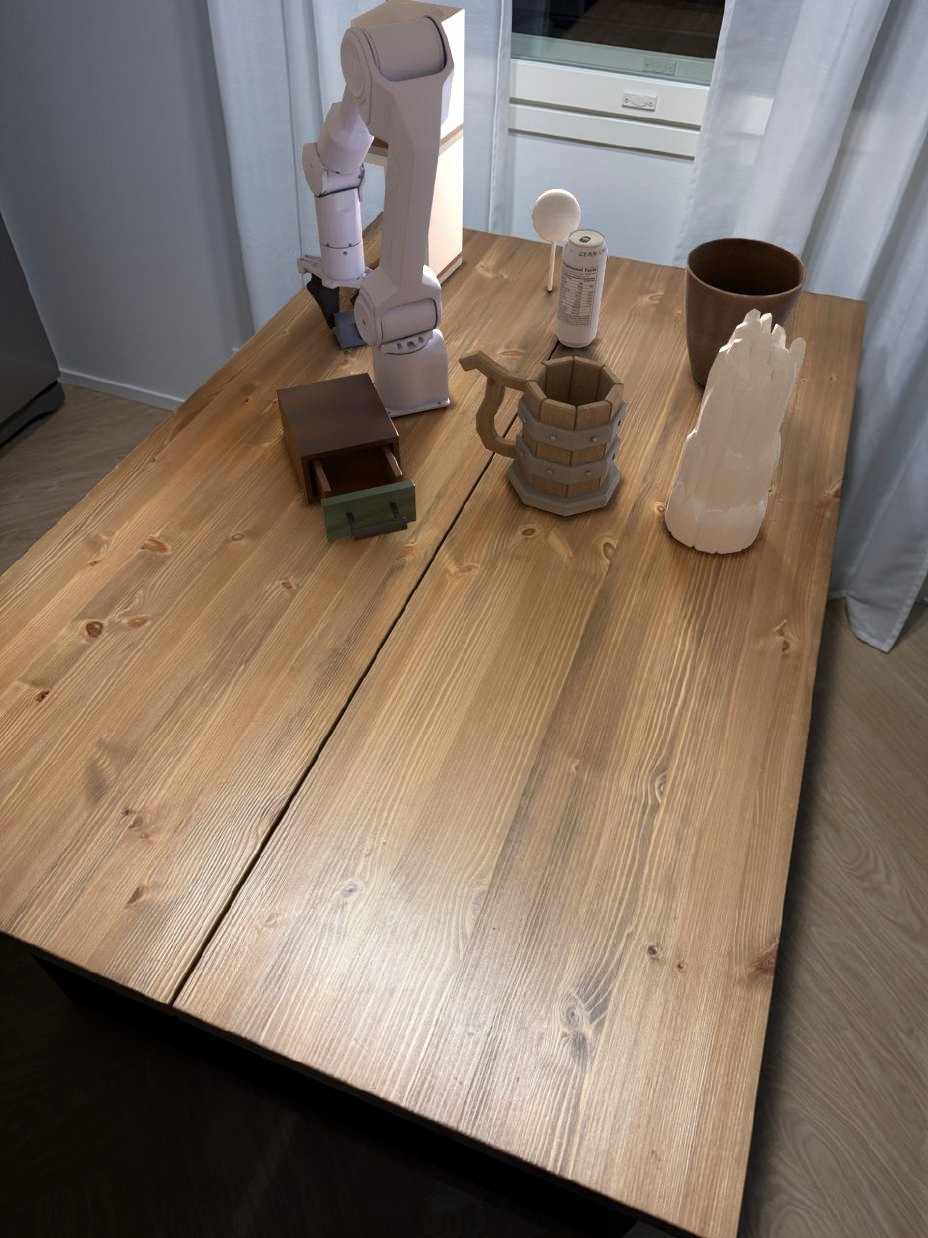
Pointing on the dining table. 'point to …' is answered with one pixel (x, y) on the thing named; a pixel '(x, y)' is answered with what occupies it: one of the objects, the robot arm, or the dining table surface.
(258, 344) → the dining table surface
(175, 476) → the dining table surface
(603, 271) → the energy drink can
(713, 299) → the flower pot
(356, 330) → the block
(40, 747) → the dining table surface
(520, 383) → the tankard
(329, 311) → the robot arm
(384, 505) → the drawer
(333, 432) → the cabinet
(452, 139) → the display case
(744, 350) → the cream upright sculpted piece
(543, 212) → the lollipop
